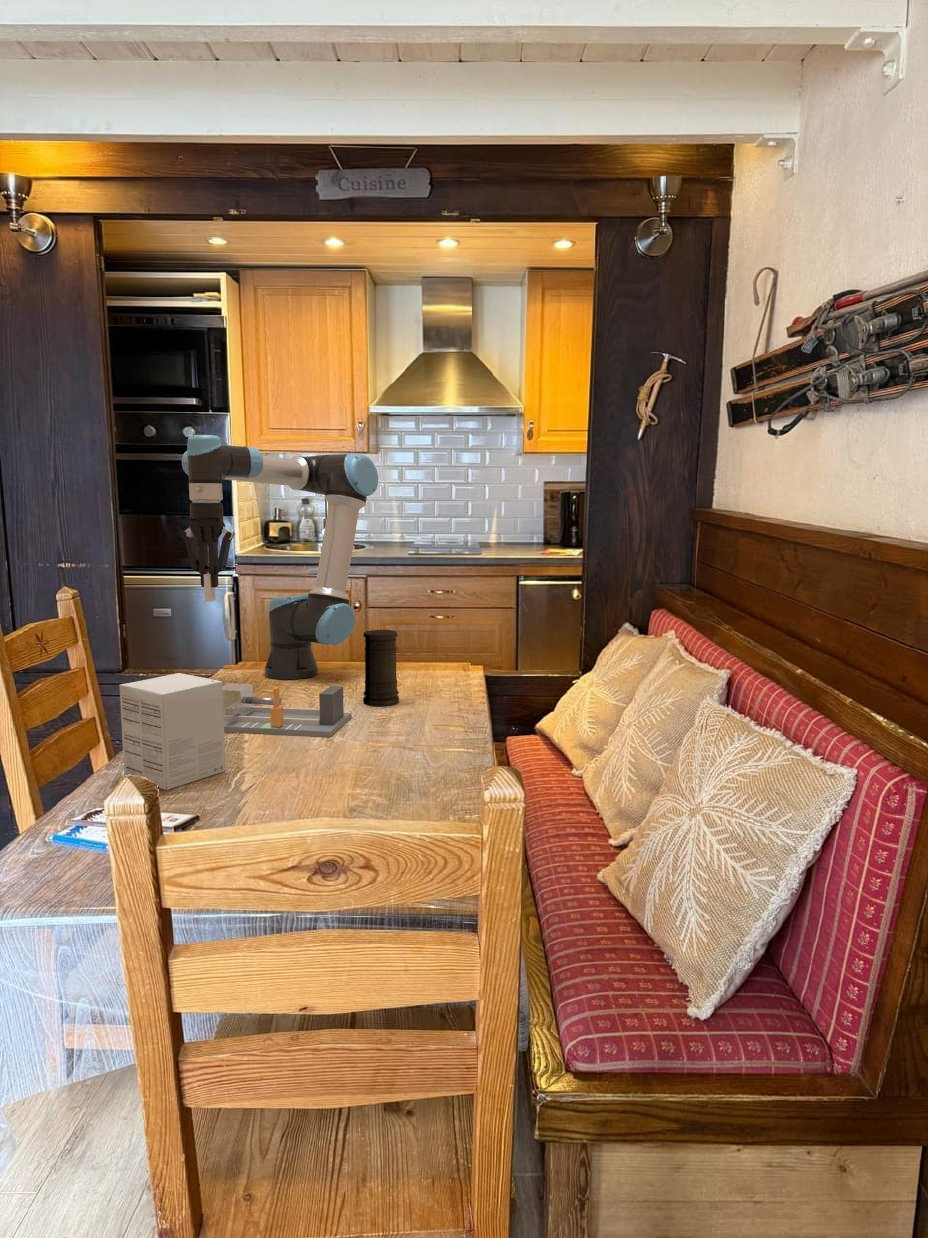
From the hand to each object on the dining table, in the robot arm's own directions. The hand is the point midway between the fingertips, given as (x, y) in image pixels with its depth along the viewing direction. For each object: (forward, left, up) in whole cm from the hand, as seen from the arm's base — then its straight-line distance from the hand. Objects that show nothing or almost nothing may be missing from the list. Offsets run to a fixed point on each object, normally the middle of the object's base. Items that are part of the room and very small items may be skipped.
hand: (210, 600), depth 201 cm
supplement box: (+48, +15, -27) cm, 57 cm away
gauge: (+13, +14, -25) cm, 32 cm away
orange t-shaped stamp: (+18, +23, -25) cm, 38 cm away
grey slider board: (+12, +20, -26) cm, 35 cm away
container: (-12, +39, -27) cm, 49 cm away
